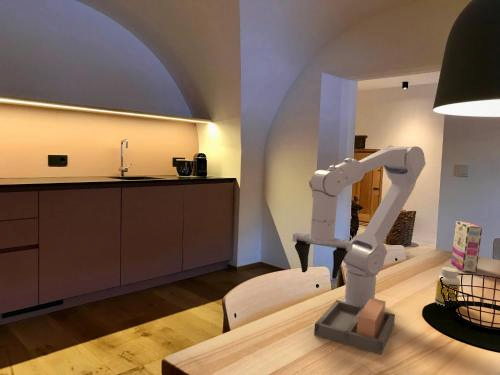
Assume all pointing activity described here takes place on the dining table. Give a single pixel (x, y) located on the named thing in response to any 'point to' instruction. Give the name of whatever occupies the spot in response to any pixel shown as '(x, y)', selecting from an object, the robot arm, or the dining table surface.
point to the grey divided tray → (351, 327)
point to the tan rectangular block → (371, 318)
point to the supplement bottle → (449, 280)
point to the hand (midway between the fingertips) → (319, 274)
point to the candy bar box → (466, 246)
